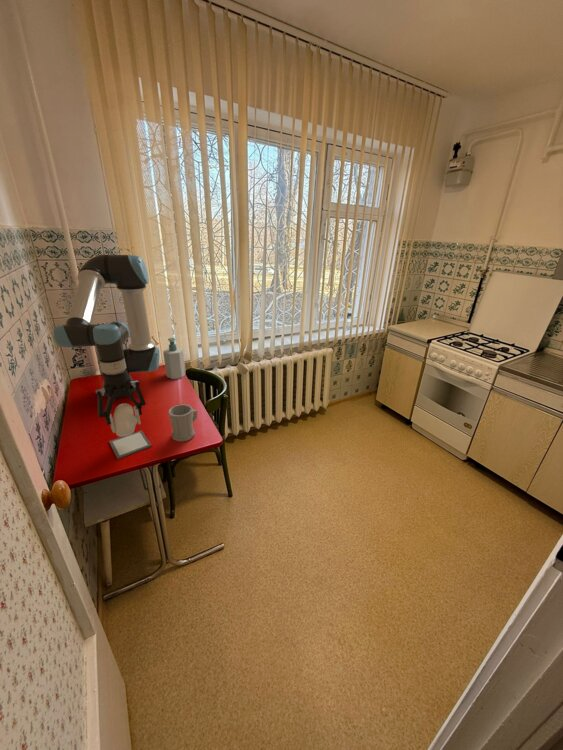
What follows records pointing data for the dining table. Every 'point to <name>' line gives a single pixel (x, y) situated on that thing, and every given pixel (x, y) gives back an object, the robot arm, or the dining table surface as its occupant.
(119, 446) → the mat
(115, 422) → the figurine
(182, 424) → the cup
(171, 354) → the soap bottle
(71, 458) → the dining table surface
